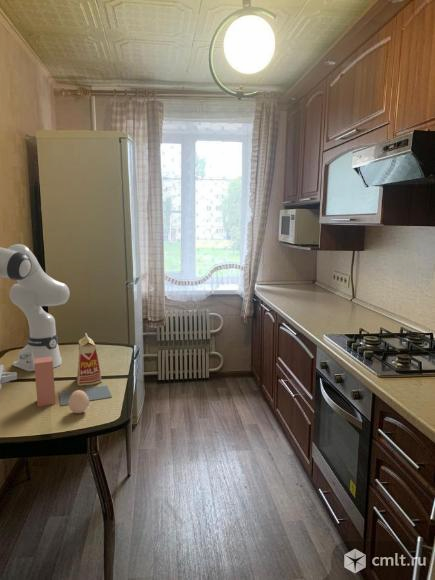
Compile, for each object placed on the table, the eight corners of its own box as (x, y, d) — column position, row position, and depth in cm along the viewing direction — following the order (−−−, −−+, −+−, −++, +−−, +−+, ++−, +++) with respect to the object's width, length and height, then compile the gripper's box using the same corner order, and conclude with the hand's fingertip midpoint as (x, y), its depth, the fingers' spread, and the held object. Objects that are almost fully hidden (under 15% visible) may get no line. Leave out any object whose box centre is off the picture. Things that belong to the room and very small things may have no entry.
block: (37, 406, 146) (34, 363, 144) (37, 400, 152) (34, 358, 149) (55, 403, 149) (52, 361, 146) (55, 397, 154) (52, 356, 152)
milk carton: (76, 379, 172) (73, 333, 169) (99, 376, 176) (96, 330, 173) (78, 387, 164) (75, 338, 161) (102, 383, 167) (99, 335, 164)
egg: (88, 415, 139) (87, 393, 138) (68, 417, 137) (66, 395, 136) (90, 407, 145) (89, 386, 144) (70, 409, 144) (69, 387, 143)
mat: (60, 405, 146) (60, 405, 146) (59, 393, 157) (59, 392, 157) (111, 397, 154) (111, 396, 153) (107, 386, 164) (106, 385, 164)
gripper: (-34, 383, 130) (14, 377, 135) (-25, 363, 148) (17, 358, 154) (-32, 402, 131) (16, 395, 136) (-24, 380, 149) (18, 374, 155)
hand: (16, 375), depth 145 cm, fingers closed
